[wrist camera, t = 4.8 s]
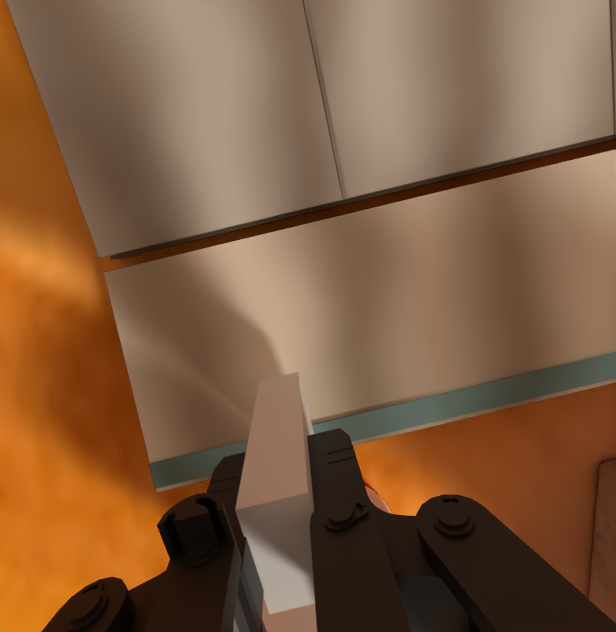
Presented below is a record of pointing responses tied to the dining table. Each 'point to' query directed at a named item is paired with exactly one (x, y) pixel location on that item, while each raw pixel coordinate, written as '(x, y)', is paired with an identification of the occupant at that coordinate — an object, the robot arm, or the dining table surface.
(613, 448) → the dining table surface
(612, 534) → the wooden block
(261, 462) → the robot arm
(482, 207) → the plank
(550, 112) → the laid row
